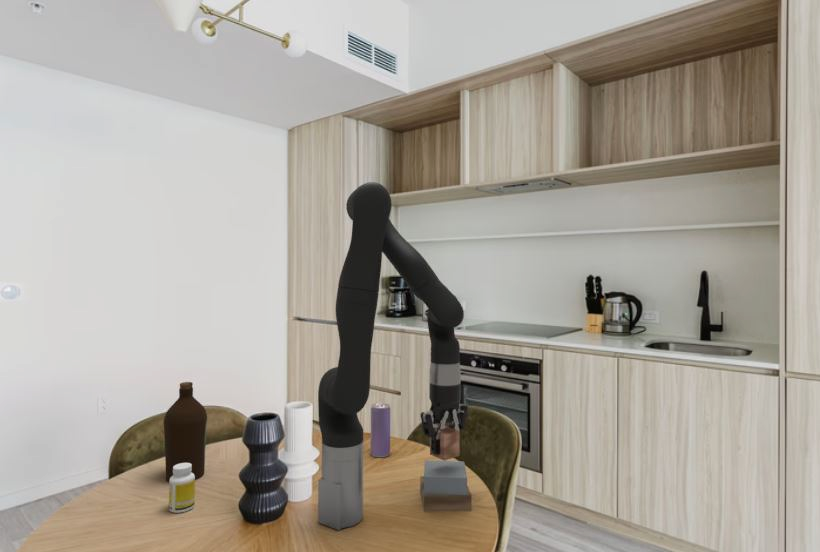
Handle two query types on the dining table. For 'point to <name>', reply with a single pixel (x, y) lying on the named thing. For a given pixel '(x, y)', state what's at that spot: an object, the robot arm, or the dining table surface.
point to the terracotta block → (448, 444)
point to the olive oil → (185, 432)
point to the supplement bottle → (182, 488)
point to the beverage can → (380, 430)
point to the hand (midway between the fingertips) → (444, 450)
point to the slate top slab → (445, 478)
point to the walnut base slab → (444, 501)
